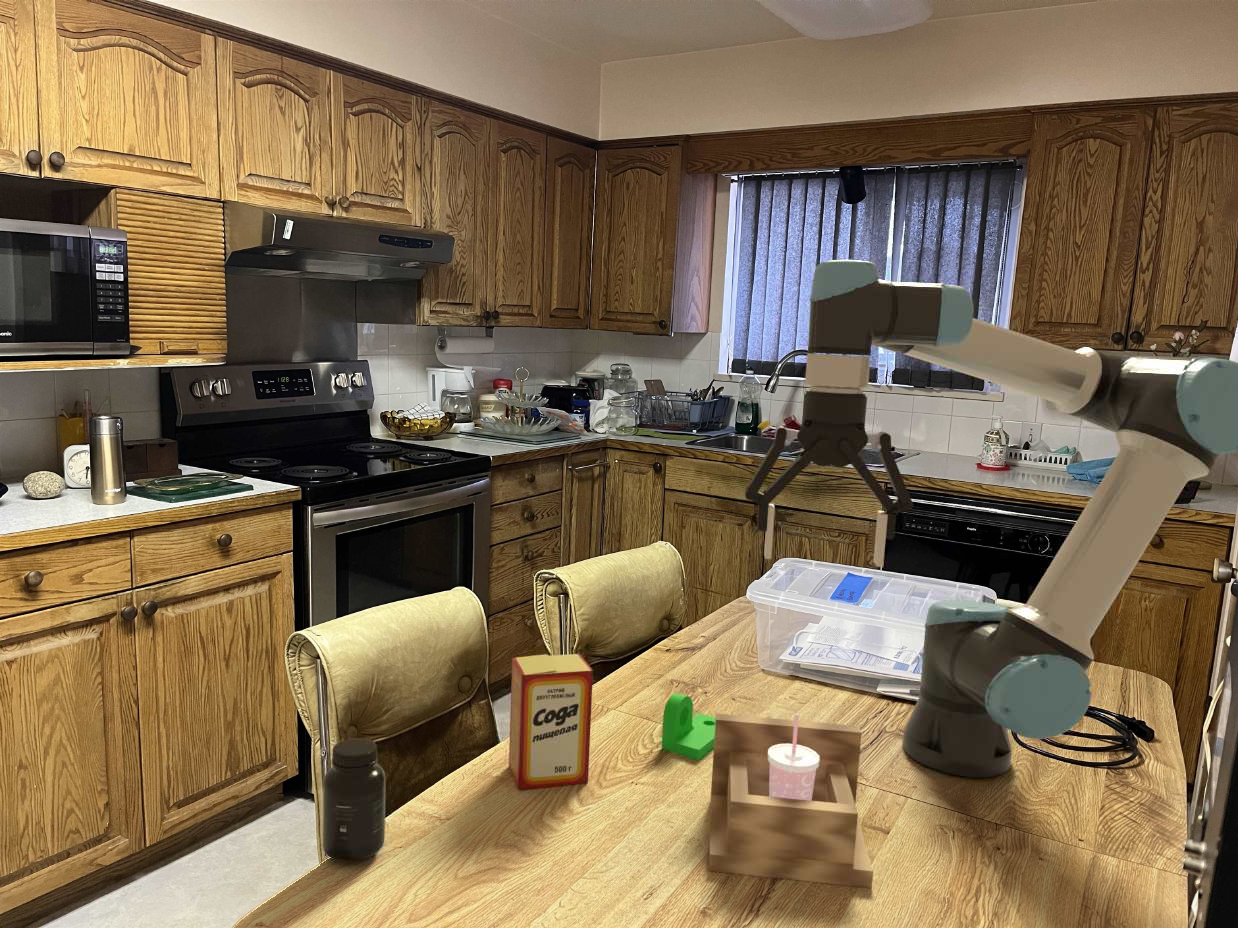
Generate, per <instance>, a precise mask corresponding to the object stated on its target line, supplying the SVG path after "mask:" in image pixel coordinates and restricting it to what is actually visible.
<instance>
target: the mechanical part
mask: <svg viewBox="0 0 1238 928" xmlns="http://www.w3.org/2000/svg"><path fill="white" fill-rule="evenodd" d="M666 701H667V702H666V703H665V706H664V709H663V714H662V715H663V717H662V732H661V733H662V734H661V749H662V750H665V751H668V752H671V753H673V754H678V755H681V756H683V757H686V758H690V759H692V760H696V761H700V760H701V759H703V757H705V756H706V755H707V754H708V753H709V752H710V751H711V750H714V737H715V722H716V716H712V715H708V714H704V713H701V712H699V713H697V714H696V715H695V716H693V715H694V711H693V710H694V704H693V699H692V697H691V696H689V695H686V694H681V693H678V692H675V693H672V694H671V695H670V696H669V697H668V699H667V700H666Z"/></svg>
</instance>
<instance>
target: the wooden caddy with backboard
mask: <svg viewBox="0 0 1238 928" xmlns="http://www.w3.org/2000/svg"><path fill="white" fill-rule="evenodd" d="M715 717H716V722H715V737H714V748H713V755H712V767H711V768H712V771H711V773H712V774H711V785H710V786H711V787H710V799H709V800H710V802H709V804H710V805H709V807H710V810H709V840H708V841H709V845H708V871H709V872H717V873H727V874H735V875H745V876H756V877H764V878H772V879H773V878H774V879H783V880H790V881H791V880H793V881H801V882H812V883H818V884H819V883H822V884H831V885H839V886H840V885H841V886H850V887H858V888H867V889H872V887H873V877H874V869H873V866H872V862H871V859H870V855H869V852H868V850H867V845H866V842H865V837H864V833H863V831H862V828H861V824H860V821H859V816H858V815H859V812H858V809H857V807H856V801H857V790H858V777H859V767H860V754H861V743H862V742H861V741H862V730H861V727H860V725H851V724H842V723H841V724H840V723H831V722H830V723H828V722H817V721H808V720H807V721H806V720H798V731H797V743H796V745H801V746H804V747H808V748H810V749H812V750H813V751H815V752H816V753H817V754H818V755H819V767H818V768H817V769H816V774H815V780H814V787H813V794H812V801H809V800H799V799H789V798H778V797H769V775H770V762H769V761H768V749H769V748H770V747H772V746H774V745H778V744H792V743H793V730H794V719H785V718H771V717H761V716H760V717H758V716H751V715H750V716H748V715H737V714H726V713H717V712H716V714H715Z"/></svg>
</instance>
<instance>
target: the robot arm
mask: <svg viewBox="0 0 1238 928" xmlns="http://www.w3.org/2000/svg"><path fill="white" fill-rule="evenodd" d="M878 273H879V272H878V266H877V265H876V263H874V262H871V261H864V260H855V259H854V260H853V259H836V260H835V259H834V260H826V261H822V262H820V263H819V264H818V265H817V266H816V267H815V269H814V272H813V278H812V287H811V293H810V298H809V302H810V305H809V326H808V345H807V354H806V356H807V357H806V365H805V367H806V368H805V381H804V384H805V385H806V386H807V387H809V390H805V393H803V403H802V404H803V405H802V407H803V408H802V419H801V425H800V427H799V429H798V430H796V429H793V428H786V427H784V426H783V425H779V426H776V429H775V432H774V438H773V442H772V444H771V446H770V448H769V449H768V451H767V453H766V455H765V456H764V458H763V460H762V461H761V463H760V465H759V466H758V468H757V469H756V471H755V473H754V474H753V476H752V478H751V480H750V482H749V483H748V485H747V486H746V488H745V490H744V496H745V499H747V500H749V501H752V502H754V503H756V505H758V507H757V522H756V525H757V529H758V531H760V532H761V531H762V532H763V531H764V532H765V534H764V535H765V539H764V548H763V549H764V550H763V555H764V559H765V560H772V555H773V554H772V552H773V551H772V550H773V537H774V525H775V524H774V523H775V511H776V507H775V504H774V503H771V502H772V501H773V500H775V498H777V497H778V496H779V494H781V492H782V491H783V490H784V489H785V488H787V486H788V485H789V484H791V482H792V481H793V480H794V479H795V478H797V477H798V475H799V474H800V473H801V472H802V471H803V470H804V469H806V468H807V467H808V466H809V465H810V464H811V463H813V464H814V465H816V466H817V467H827V466H833V467H837V468H844V467H847V466H849V465H851V467H853V469H854V470H855V471H856V473H858V475H859V477H860V478H861V479H862V481H863V482H864V483H865V485H866V486H867V487H868V489H870V491H871V492H872V494H873V495H874V497H875V498H876V499H877V500H878V502H879V503H880V504H881V506H882V507H883V508H884V510H877V512H876V513H877V515H876V524H875V525H876V527H875V538H874V548H873V549H874V551H873V563H874V564H875V566H876V567H877V568H884V561H885V560H884V559H885V548H886V540H894V537H895V534H896V522H897V515H898V514H899V513H901V512H903V511H904V512H905V511H909V510H912V509H913V508H914V507H913V506H914V503H913V501H912V498H911V496H910V493H909V490H908V489H907V486H906V484H905V483H906V482H904V479H903V476H902V474H901V472H900V469H899V467H898V464H897V462H896V460H895V457H894V454H893V453H892V436H891V435H890V434H889V433H887V432H885V431H880V432H878V433H870V434H869V433H868V434H867V432H866V415H867V402H868V396H866V395H867V394H866V393H864V391H863V390H867V388H869V379H870V364H871V356H872V346H875V347H878V348H882V349H884V350H888V351H891V352H893V353H899V354H902V355H906V356H908V357H911V358H915V359H917V360H921V361H924V362H926V363H931V364H933V365H936V366H941V367H943V368H946V369H950V370H953V371H956V372H959V373H961V374H965V375H968V376H972V377H975V378H978V379H980V380H984V381H987V382H990V383H993V384H995V385H999V386H1001V387H1002V386H1003V387H1005V388H1009V389H1012V390H1014V391H1015V390H1016V391H1018V392H1021V393H1024V394H1027V395H1031V396H1034V397H1037V398H1040V399H1043V400H1046V401H1049V402H1052V403H1053V405H1054V407H1055V409H1057V411H1058V412H1061V413H1063V414H1065V415H1069V416H1072V417H1075V418H1078V419H1081V420H1083V421H1086V422H1088V423H1091V424H1093V425H1096V426H1098V427H1101V428H1103V429H1105V430H1108V431H1110V432H1113V433H1115V436H1116V440H1117V442H1118V443H1117V444H1118V445H1119V452H1118V453H1117V455H1116V457H1115V458H1114V460H1113V461H1112V463H1111V465H1110V466H1109V468H1108V470H1107V471H1106V473H1105V474H1104V476H1103V477H1102V480H1101V482H1100V483H1099V485H1098V486H1097V488H1095V491H1094V492H1093V495H1092V496H1091V498H1090V499H1089V501H1088V503H1087V504H1086V505H1085V508H1084V509H1083V510H1082V512H1081V514H1080V516H1079V517H1078V519H1077V520H1076V522H1075V523H1074V525H1073V526H1072V529H1071V530H1070V532H1069V533H1068V535H1067V537H1066V538H1065V540H1064V542H1063V543H1062V545H1061V546H1060V548H1059V550H1058V551H1057V553H1056V554H1055V556H1054V558H1053V559H1052V561H1051V563H1050V564H1049V566H1048V567H1047V569H1046V571H1045V572H1044V575H1043V576H1042V577H1041V579H1040V581H1039V582H1038V584H1037V586H1036V587H1035V589H1034V590H1033V593H1032V594H1031V595H1030V597H1029V598H1028V600H1027V602H1026V603H1025V604H1023V605H1022V606H1021V605H1020V606H1017V607H1013V608H1009V607H1008V606H1005V605H1002V604H996V603H991V602H986V601H985V602H984V601H975V600H960V599H959V600H957V599H956V600H951V599H949V600H939V601H935V602H933V603H932V604H931V605H930V606H929V607H928V610H927V614H926V619H925V620H926V621H925V623H924V629H925V630H924V639H923V640H924V641H923V653H922V663H921V673H920V688H919V695H918V696H919V697H918V699H917V701H916V704H915V706H914V707H913V709H912V712H911V714H910V716H909V718H908V721H907V723H906V725H905V727H904V728H903V734H902V749H903V750H904V752H905V753H906V755H908V756H909V757H910V758H911V759H913V760H914V761H916V762H918V763H919V764H921V765H924V766H926V767H929V768H931V769H932V770H936V771H939V772H943V773H946V774H950V775H954V776H962V777H968V778H989V777H990V778H991V777H996V776H1000V775H1003V774H1005V773H1006V772H1007V771H1009V770H1010V768H1011V765H1012V756H1013V755H1012V754H1013V752H1012V745H1011V741H1010V736H1009V732H1008V730H1009V731H1011V732H1013V733H1014V734H1016V735H1019V736H1021V737H1023V738H1027V739H1032V740H1033V739H1034V740H1044V739H1045V740H1046V739H1049V738H1050V737H1057V736H1060V735H1063V734H1064V733H1066V732H1067V731H1069V730H1071V729H1072V728H1073V727H1075V725H1077V724H1078V723H1079V722H1080V721H1081V720H1082V719H1083V717H1084V716H1085V714H1086V712H1087V710H1088V709H1089V707H1090V706H1089V705H1090V704H1091V699H1092V692H1091V691H1090V688H1091V685H1092V684H1091V681H1090V678H1089V676H1088V674H1087V673H1086V672H1087V671H1088V669H1089V667H1090V666H1091V664H1092V663H1093V661H1094V659H1095V656H1094V653H1093V650H1092V647H1091V639H1092V637H1093V635H1094V634H1095V632H1096V630H1097V628H1098V627H1099V626H1100V624H1101V622H1102V620H1104V617H1105V616H1106V614H1107V613H1108V611H1109V609H1110V608H1111V606H1112V605H1113V603H1114V602H1115V600H1116V598H1117V596H1118V595H1119V593H1120V592H1121V590H1122V589H1123V586H1124V585H1125V584H1126V582H1127V580H1128V578H1129V577H1130V575H1131V574H1132V573H1133V570H1134V569H1135V568H1136V566H1137V564H1138V563H1139V561H1140V559H1141V558H1142V556H1143V554H1144V552H1145V551H1146V549H1147V548H1148V546H1149V544H1150V543H1151V541H1152V540H1153V538H1154V536H1155V535H1156V533H1157V531H1158V530H1159V528H1160V527H1161V525H1162V524H1163V522H1164V520H1165V518H1166V517H1167V515H1168V514H1169V512H1170V510H1171V509H1172V507H1173V505H1174V504H1175V503H1176V501H1177V499H1178V498H1179V497H1180V494H1181V492H1182V491H1183V489H1184V487H1186V485H1187V483H1188V482H1190V481H1191V480H1196V479H1199V478H1203V477H1206V476H1208V475H1209V473H1210V471H1211V470H1212V469H1213V466H1214V465H1215V464H1216V461H1217V460H1219V457H1220V455H1222V456H1224V455H1229V454H1233V453H1236V452H1237V451H1238V362H1237V361H1234V360H1230V359H1224V358H1216V357H1213V356H1207V355H1204V356H1203V355H1202V356H1197V357H1187V356H1186V357H1182V356H1163V355H1162V356H1161V355H1160V356H1157V355H1132V354H1131V355H1127V354H1123V355H1122V354H1114V353H1108V352H1103V351H1099V350H1096V349H1093V348H1090V347H1082V348H1078V349H1077V350H1073V349H1070V348H1067V347H1063V346H1061V345H1057V344H1053V343H1050V342H1047V341H1044V340H1042V339H1039V338H1036V337H1032V336H1029V335H1026V334H1024V333H1020V332H1017V331H1015V330H1012V329H1008V328H1005V327H1001V326H999V325H995V324H993V323H990V322H987V321H983V320H982V319H981V320H980V319H977V318H974V312H975V311H974V309H975V308H974V302H973V298H972V296H971V294H970V292H969V291H968V290H967V289H966V288H965V287H963V286H960V285H951V284H945V283H944V282H939V283H930V282H929V283H927V282H926V283H925V282H908V281H907V282H903V281H888V280H883V279H879V277H880V276H879V274H878ZM796 439H797V441H798V443H799V445H800V446H801V447H802V449H803V450H802V451H800V453H799V454H798V455H797V456H796V457H795V459H794V460H793V461H792V462H791V463H790V464H789V465H788V466H787V467H786V468H785V469H784V470H783V471H782V472H781V473H780V474H779V475H778V476H777V477H776V478H775V479H774V480H773V481H772V482H771V483H770V484H769V485H768V486H767V487H766V488H765V489H764V490H763V491H762V492H761V491H760V489H761V487H762V486H763V484H764V482H765V481H766V480H767V477H768V476H769V474H770V472H771V471H772V469H773V468H774V467H775V464H776V463H777V461H778V459H779V458H780V456H781V454H782V452H783V450H784V447H787V446H790V445H791V443H792V442H793V441H794V440H796ZM867 444H870V445H871V447H872V449H873V450H874V451H876V452H878V455H879V457H880V460H881V462H882V465H883V468H884V470H885V472H886V475H887V476H888V480H889V481H890V484H891V486H892V489H893V492H894V495H895V496H896V500H892V499H891V497H890V496H889V494H888V493H887V491H886V490H885V489H884V488H883V487H882V485H881V484H880V483H879V481H878V480H877V478H876V477H875V475H873V473H872V472H871V471H870V469H869V468H868V467H867V465H866V463H865V462H864V461H863V460H862V458H861V457H860V455H859V454H860V453H861V451H863V449H864V448H865V447H866V446H867Z"/></svg>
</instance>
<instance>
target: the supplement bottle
mask: <svg viewBox="0 0 1238 928" xmlns="http://www.w3.org/2000/svg"><path fill="white" fill-rule="evenodd" d="M377 748H378V747H377V744H376V743H375V741H373V740H371V739H368V738H367V739H366V738H361V737H360V738H358V737H357V738H348V739H344V740H342V741H340V742H337V743H336V744H335V745H334V746H333V747H332V758H331V767H330V768H329V769H328V770H327V771H326V773H325V775H324V776H323V779H322V849H323V851H324V853H325V855H326V856H327V857H329V858H330V859H333V860H334V861H338V862H345V863H346V862H357V861H362V860H366V859H369V858H370V857H373V856H374V855H376V854H377V853H378V852H379V851H380V850H381V849H382V848H383V846H384V844H385V838H386V834H385V833H386V773H385V770H384V768H382V766H381V765H380V764H378V763H377V762H378V751H377V750H378V749H377Z"/></svg>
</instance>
